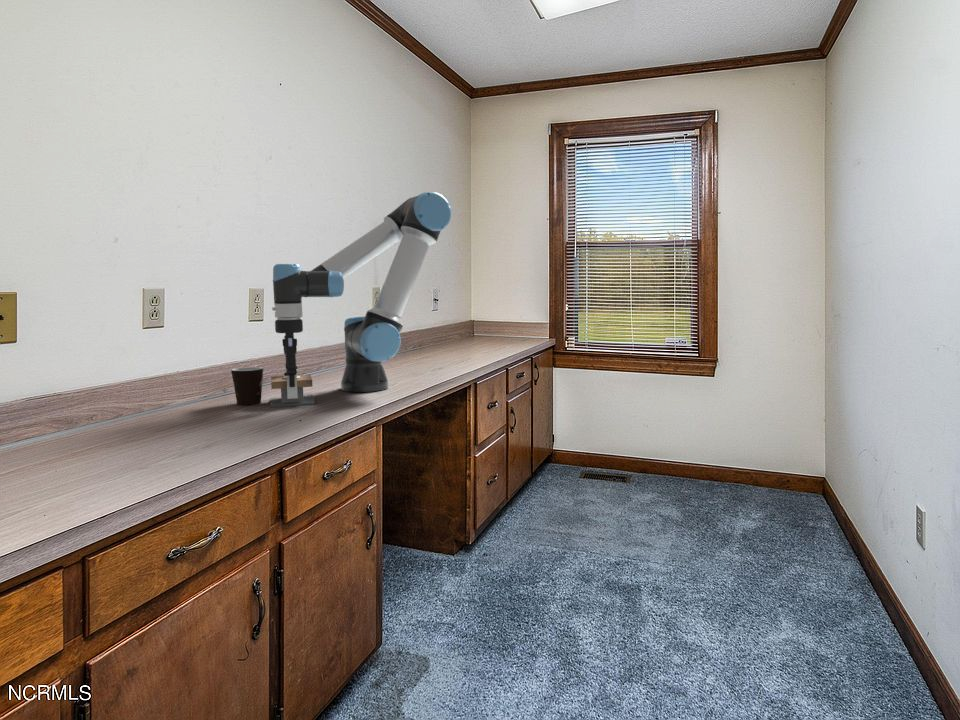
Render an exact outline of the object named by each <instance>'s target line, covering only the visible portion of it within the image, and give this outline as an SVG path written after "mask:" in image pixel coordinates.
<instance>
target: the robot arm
mask: <svg viewBox="0 0 960 720" xmlns="http://www.w3.org/2000/svg"><path fill="white" fill-rule="evenodd" d="M451 219H452V209H451V206H450V204H449V201H448V200H447V199H446V198H445V197H444V196H443V195H442V194H441V193H438V192H434V191H426V192H422V193H420V194H418V195H416V196H413V197H409V198H408V199H406V200H404V201H403V202H402V203H401V204H400V205H399V206H398V207H396V208H395V209H393V211H391V212H390V213H388V214H387V215H386V216H385V217H383V222H381V223H380V224H379V225H377V226H375V227H374V228H371V230H368V232H366V233H365V234H364V235H362V236H361V237H359V238H357V239H355V240H354V241H353V242H351V243H350V244H349V245H347V246H345V247H344V248H342V249H340V250H339V251H338V252H337V253H335V254H333V255H332V256H331V257H329V258H328V259H327V260H324V261H323V262H321V263H320V264H319V265H317V266H315V268H313V269H311V270H308V271H307V270H302V268H301V265H300V264H298V263H277V264H274V266H273V269H272V286H273V288H272V289H273V305H274V306H273V307H271V310H272V311H274V317H275V321H274V327H275V328H274V329H275V330H274V331H275V332H276V333H277V334H285V335H284V336H283V337H284V338H283V339H282V340H281V341H282V346H283V354H284V355H285V363H284V364H285V372H283V376H287V398H288V399H294V398H298V394H297V375H298V373H297V372H298V371H297V370H298V365H297V361H296V360H297V358H296V355H297V346H298V339H297V338H295V334H298V333H299V334H300V333H302V332H303V331H304V329H303V328H304V326H303V322H304V321H303V319H301V318H303V302H302V301H303V298H336V297H341V296H342V295H343V294H344V290H345V281H344V279H345V278H346V277H348V276H350V275H351V274H352V273H354V272H355V271H357V270H359V269H360V268H361V267H362V266H365V264H367V263H368V262H370V261H371V260H374V258H376V257H377V256H379V255H380V254H382V253H383V252H385V251H386V250H388V249H389V248H391V247H392V246H394V245H395V244H396V243H399V245H398V247H397V250H396V252H395V255H394V257H393V260H392V263H391V265H390V267H389V270H388V271H387V275H386V277H385V279H384V283H383V285H382V287H381V289H380V292H379V295H378V296H377V299H376V302H375V305H374V307H372V308H370V309H368V310H367V311H366V313H365V316H354V317H353V316H352V317H348V318H346V319H345V320H344V325H343V326H344V327H343V331H344V350H345V353H344V354H345V355H344V356H345V367H344V371H343V374H342V378H341V381H340V390H342V391H344V392H350V393H365V392H366V393H367V392H370V393H371V392H377V391H383V390H387V389H389V380H388V377H387V373H386V370H385V368H384V364H383V362H386V361H388V360H390V359H392V358H393V357H395V356H396V355H397V354H398V351H399V350H400V347H401V344H402V342H401V341H402V339H401V335H400V334H401V332H402V330H403V327H404V323H403V321H402V316H403V313H404V311H405V308H406V307H407V303H408V302H409V301H408V300H409V298H410V296H411V294H412V290H413V289H414V286H415V283H416V280H417V278H418V276H419V273H420V271H421V268H422V265H423V263H424V260H425V258H426V256H427V253H428V251H429V248H430V247H431V246H433V245H435V244H437V241H438V239H439V236H440V234H441V231H443V230H444V229H445V228H446V227H447V226H448V225H449V223H450V221H451Z"/></svg>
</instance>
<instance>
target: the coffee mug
mask: <svg viewBox="0 0 960 720" xmlns="http://www.w3.org/2000/svg"><path fill="white" fill-rule="evenodd" d="M230 371H231V377H232V382H233V389H234V394H235V399H236V404H237V406H241V407H242V406H243V407H244V406H256V405H260V404H262V394H263V393H262V392H263V391H262V390H263V379H264V367H262V366H244V367H236V368H232V369H230Z"/></svg>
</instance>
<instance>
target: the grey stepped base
mask: <svg viewBox="0 0 960 720" xmlns="http://www.w3.org/2000/svg"><path fill="white" fill-rule="evenodd" d="M297 394H298V398H294V399H288V398H287V388H280V395H281V397H273V398H272V397H271V398H270V402H269V403H270V408H279V407H292V406H293V407H294V406H295V407H296V406H311V405H313V406H314V405H316V401H315V399H314V396H313V395H305V396H304V387H298V388H297Z"/></svg>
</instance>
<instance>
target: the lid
mask: <svg viewBox="0 0 960 720" xmlns="http://www.w3.org/2000/svg"><path fill="white" fill-rule="evenodd" d="M296 375H297V388H298V387H303V388H310V387H311V388H312V387H313V378H312V376H311V374H296ZM270 379H271V380H270V382H271V383H270V386H271V390H276V389H277V390H278V389H279V390H281V388H287V376H284V375H279V376H278V375H276V376H275V375H274V376H271V377H270Z"/></svg>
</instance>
